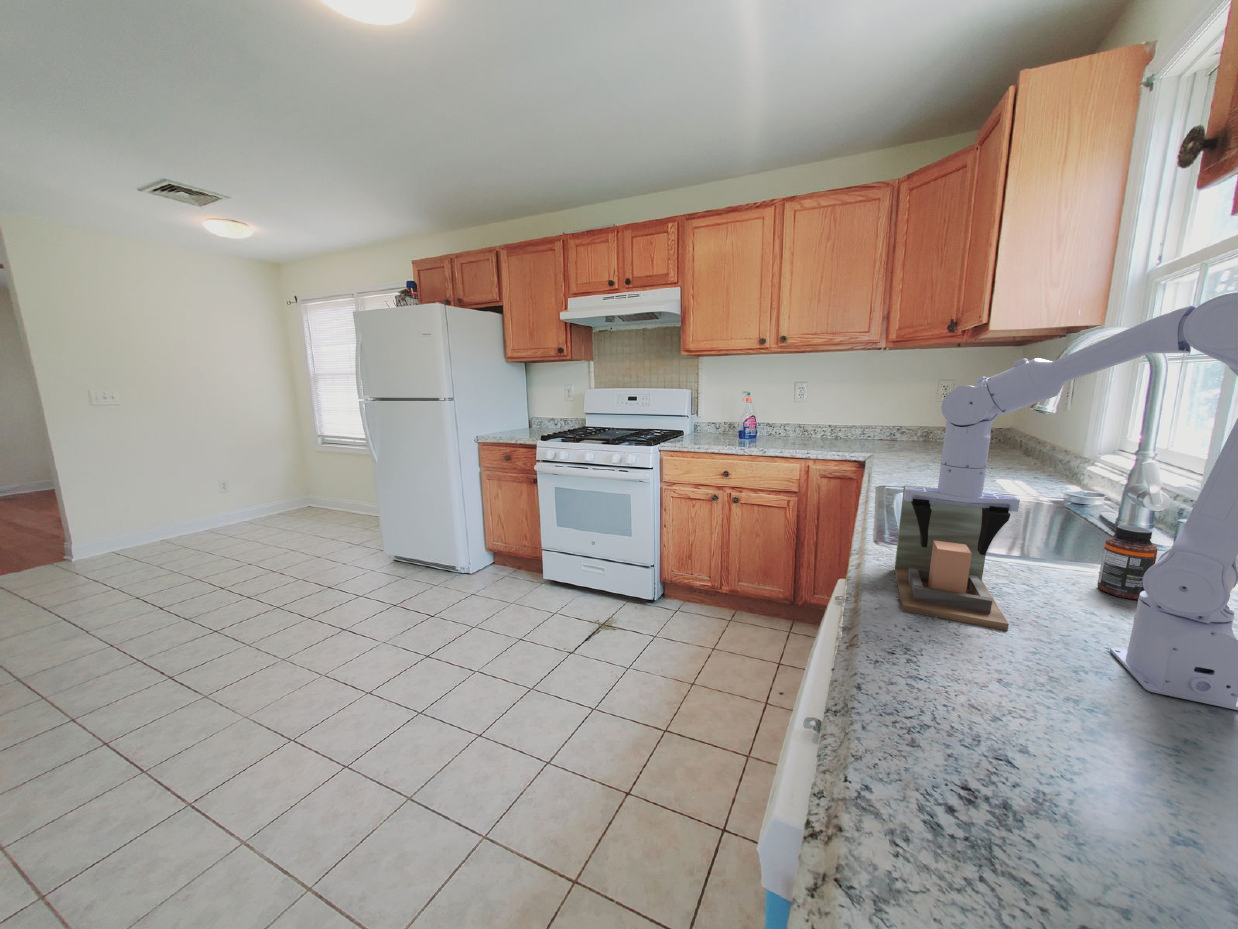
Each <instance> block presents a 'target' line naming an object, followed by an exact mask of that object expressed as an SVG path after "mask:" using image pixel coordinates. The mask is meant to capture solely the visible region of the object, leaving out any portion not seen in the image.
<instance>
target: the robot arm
mask: <svg viewBox="0 0 1238 929" xmlns="http://www.w3.org/2000/svg"><path fill="white" fill-rule="evenodd" d="M1191 347H1192V348H1193V349H1194V350H1196V351H1198V352H1200V353H1202V354H1204V355H1206V356H1208V357H1211V358H1212V359H1215V360H1217V361H1219V362H1221V363H1223V364H1224V365H1227V366H1228V369H1229V370H1231V372H1233V374H1234V375H1236V377H1238V291H1231V292H1227V293H1223V294H1219V295H1216V296H1214V297H1211V298H1209V299H1207V300H1205V301H1204V302H1202V303H1200V304H1199V305H1198V306H1195V305H1193V304H1191V305H1188V306H1185V307H1182V308H1177V309H1174V310H1171V311H1169V312H1167V313H1164V314H1160V315H1159V316H1156V317H1153V318H1150V319H1148V320H1146V321H1143V322H1141V323H1138V324H1137V325H1134V326H1131V327H1130V328H1126V329H1125V330H1122V331H1120V332H1118V333H1116V334H1113V335H1111V336H1108V337H1106V338H1103V339H1102V340H1100V341H1097V342H1094V343H1093V344H1090V345H1088V346H1086V347H1083V348H1082V349H1078V350H1076V351H1074V352H1072V353H1070V354H1067V355H1065V356H1062V357H1061V358H1057V359H1056V360H1048V359H1044V358H1039V357H1036V358H1032V359H1031V360H1029V359H1028V358H1021V359H1019V360H1016V361H1014V362H1013V367H1011V368H1009V369H1007V370H1004V371H1002V372H1000V373H997V374H994V375H992V376H990V377H987V376H982V377H979V378H977V379H976V385H975V386H974V385H970V384H969V385H968V384H967V385H966V384H965V385H958V386H957V387H955V388H954V389H953V390H951V391H950V392H948V393H947V394H946V395H945V396H944V398H943V400H942V402H941V407H940V408H941V413H942V415H943V417H944V418H945V420H946V423H945V430H944V435H943V436H944V437H943V443H942V452H941V460H940V467H939V468H940V469H939V476H938V485H937V487H931V488H912V487H905V491H904V500H905V501H911V503H912V506H913V509H914V511H915V514H916V517H917V521H918V525H919V530H920V544H921V546H922V547H927V544H928V527H929V522H930V516H931V512H932V510H931V508H930V506H931V504H930V503H929V502H932V503H942V504H952V505H962V506H973V507H982V523H981V532H980V536H979V541H978V549H977V551H978V552H979V554H980V555H986V556H987V552H988V549H990V546H991V545H992V542H993V541H994V538H995V537H996V536H997V534H998V532H999V531H1000V530H1001V529H1002V528H1003V527H1004V525H1006V524H1007V523H1008V522H1009V520H1010V517H1011V513H1010V512H1012V513H1013V512H1014V513H1018V512H1019V508H1020V502H1021V499H1020V498H1018V497H1017V496H1015V495H1014V496H1012V495H1005V494H1004V495H1003V494H995V493H993V494H990V493H991V492H988V493H983V492H984V487H985V480H986V479H985V478H986V472H987V465H988V458H989V457H988V456H989V450H990V444H991V434H992V433H991V432H992V425H993V421H994V420H996V418H998V417H999V415H1007V414H1009V413H1012V412H1015V411H1018V410H1021V409H1023V408H1026V407H1029V406H1031V405H1035V404H1038V403H1041V402H1043V401H1046V400H1049V399H1052V398H1055V397H1057V396H1058V395H1059V394H1060V392H1061V391H1062V389H1063V387H1064V386H1065V384H1066V383H1067V382H1070V381H1073V380H1077V379H1079V378H1082V377H1085V376H1088V375H1091V374H1093V373H1094V374H1095V373H1096V372H1100V371H1102V370H1105V369H1109V368H1112V367H1114V366H1117V365H1121V364H1123V363H1126V362H1129V361H1132V360H1135V359H1138V358H1141V357H1144V356H1147V355H1151V354H1153V355H1154V354H1190V353H1191ZM1237 558H1238V417H1237V418H1236V420H1235V423H1234V425H1233V426H1232V428H1231V430H1230V432H1229V435H1228V436H1227V439H1226V441H1225V443H1224V445H1223V447H1222V449H1221V451H1220V453H1219V455H1218V456H1217V459H1216V460H1215V463H1214V465H1213V467H1212V469H1211V471H1210V473H1209V475H1208V477H1207V479H1206V481H1205V483H1204V485H1203V487H1202V488H1201V491H1200V493H1199V494H1198V497H1197V498H1196V501H1195V504H1194V505H1193V507H1192V509H1191V511H1190V513H1189V516H1188V517H1187V519H1186V522H1185V524H1184V525H1183V527H1182V529H1181V530H1180V532H1179V534H1178V535H1177V537H1176V539H1175V540H1174V542H1173V544H1172V546H1171V548H1169V549H1168V550H1165V551H1164V553H1162V554H1161V555H1160V557H1159V558H1158V560H1157V561H1156V562H1155V564H1154V565H1153V566H1151V567H1150V568H1149V569H1148V570H1147V571H1146V572H1145V574H1144V576H1143V587H1144V590H1145V591H1142V592H1140V595H1139V599H1137V605H1136V608H1135V609H1136V610H1135V614H1134V619H1133V622H1132V623H1133V624H1132V627H1131V633H1130V638H1129V640H1128V641H1129V642H1128V647H1127V649H1124V648H1118V647H1110V648H1109V651H1110V652H1111V654H1112V655H1113V656H1114V657H1115V658H1116V659H1117V660H1118V661H1119V662H1120V664H1122V666H1123V667H1124V668H1125V669H1126V670H1127V671H1128V672H1129V673H1130V674H1131V675H1132V676H1133V678H1135V680H1136V681H1137V682H1138V683H1139V684H1140V685H1141V686H1142V687H1143V688H1144V689H1145V690H1146V691H1148V692H1151V693H1154V694H1159V695H1164V696H1169V697H1173V698H1178V699H1183V700H1187V701H1192V702H1198V703H1203V704H1207V705H1211V706H1212V705H1213V706H1215V707H1220V708H1221V707H1222V708H1226V709H1230V710H1236V711H1238V639H1237V637H1236V635H1235V634H1234V631H1233V622H1234V618H1235V612H1234V611H1233V610H1232V609H1230V606H1228V603H1229V601H1230V598H1231V592H1232V590H1233V589H1234V588H1236V585H1237V584H1238V567H1237Z"/></svg>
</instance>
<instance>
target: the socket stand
mask: <svg viewBox="0 0 1238 929" xmlns="http://www.w3.org/2000/svg"><path fill="white" fill-rule="evenodd" d="M905 487H912V488H932V487H930V486H928V487H927V486H919V485H907V484H904V485H903V490H902V500H901V509H900V517H899V526H898V534H897V535H898V536H897V543H896V551H895V561H894V568H895V570H894V573H896V575H895V579H896V578H897V580H896V584H898V585H897V590H898V589H899V590H898V595H899V594H900V595H899V601H900V600H901V601H900V605H902V606H901V610H903V611H902V612H906V611H907V612H908V613H912V614H917V613H918V614H917V615H923V614H924V615H923V616H929V617H933V616H937V617H936V618H937V619H938V618H939V617H940V618H941V619H945V620H949V619H950V620H951V621H955V622H960V623H966V624H971V625H976V626H982V627H988V628H992V629H999V630H1002V631H1003V630H1004V631H1008V630H1009V625H1010V624H1009V622H1008V620H1007V618H1006V617H1005V615H1004V613H1003V612H1002V611H1001V608H1000V607H999V606H998V604H997V602H996V600H994V597H993V596H992V594H991V593H990V591H989V589H988V588H987V586H986V584H985V583H984V581H983V575H984V569H985V561H986V556H987V554H986V555H980V554H979V552H978V551H977V549H978V541H979V536H980V532H981V523H982V507H973V506H962V505H952V504H942V503H932V502H929V503H930V504H931V506H930V508H931V510H932V512H931V516H930V522H929V527H928V544H927V547H922V546H921V544H920V530H919V525H918V521H917V517H916V514H915V511H914V509H913V506H912V503H911V501H905V500H904V491H905ZM983 493H990V494H994V493H993V492H984V491H983ZM934 540H935V541H943V542H951V543H959V544H966V545H967V547H968V548H969V550H970V551H971V553H972V555H971V562H970V569H969V576H968V583H967V590H966V594H965V593H959V592H953V591H947V590H941V589H935V588H929V587H928V580H929V572H930V564H931V556H932V549H933V541H934Z"/></svg>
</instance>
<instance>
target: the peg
mask: <svg viewBox="0 0 1238 929" xmlns="http://www.w3.org/2000/svg"><path fill="white" fill-rule="evenodd" d="M971 555H972V553H971V551H970V550H969V548H968V547H967V545H966V544H959V543H951V542H943V541H935V540H934V541H933V549H932V556H931V564H930V572H929V580H928V587H929V588H935V589H941V590H947V591H953V592H959V593H965V594H966V590H967V583H968V576H969V569H970V562H971Z"/></svg>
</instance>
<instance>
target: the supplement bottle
mask: <svg viewBox="0 0 1238 929" xmlns="http://www.w3.org/2000/svg"><path fill="white" fill-rule="evenodd" d="M1152 536H1153V531H1152V530H1151V529H1148V528H1145V527H1141V526H1136V525H1129V524H1119V525H1116V529H1115V534H1113V535H1112V536H1110V537H1108V538H1106V540H1105V542H1104V546H1103V547H1104V548H1103V552H1102V557H1101V563H1100V568H1099V572H1098V577H1097V578H1098V579H1097V587H1098V589H1100V590H1101V591H1102V590H1103V592H1104V591H1105V593H1106V592H1107V594H1110V595H1111V594H1112V595H1111V596H1115V597H1119V598H1124V599H1128V600H1139V595H1140V592H1142V591H1145V590H1144V587H1143V576H1144V574H1145V572H1146V571H1147V570H1148V569H1149V568H1150V567H1151V566H1153V565H1154V564H1156V563H1157V554H1158V548H1157V546H1156V545H1155V544H1154V543H1153V542H1152V541H1151V540H1152Z"/></svg>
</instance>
